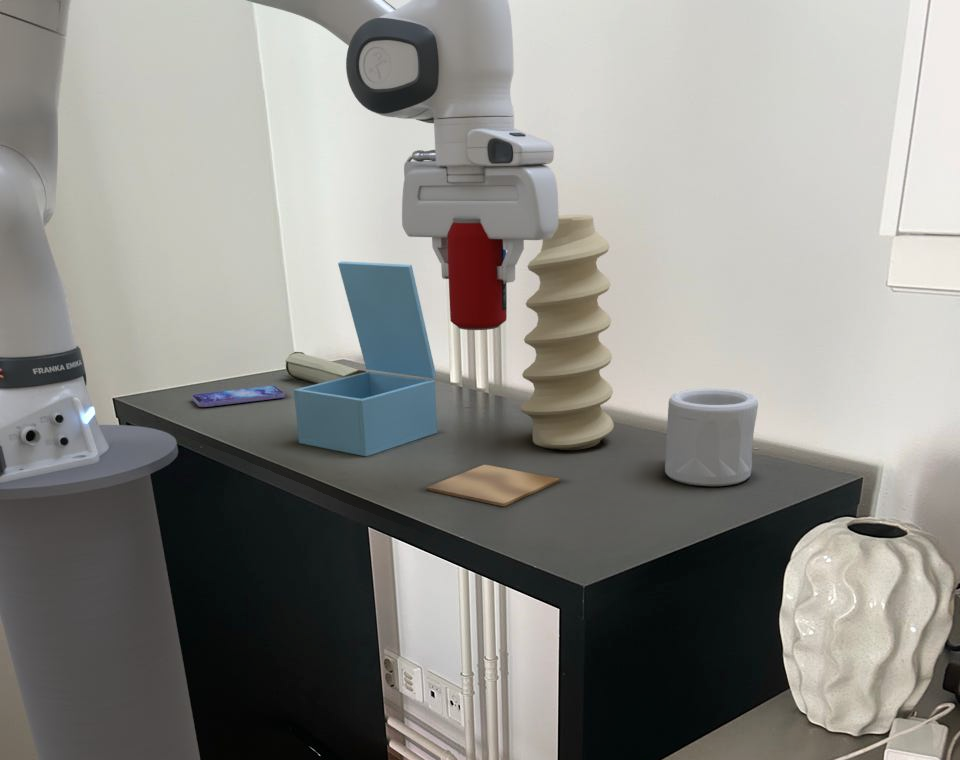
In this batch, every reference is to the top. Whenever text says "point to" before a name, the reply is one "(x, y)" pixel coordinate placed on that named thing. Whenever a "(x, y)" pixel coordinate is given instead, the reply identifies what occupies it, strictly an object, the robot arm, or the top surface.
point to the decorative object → (569, 339)
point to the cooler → (366, 412)
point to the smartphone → (237, 396)
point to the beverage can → (475, 277)
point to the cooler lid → (388, 317)
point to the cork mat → (493, 485)
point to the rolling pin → (317, 368)
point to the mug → (710, 436)
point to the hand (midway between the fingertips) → (478, 280)
